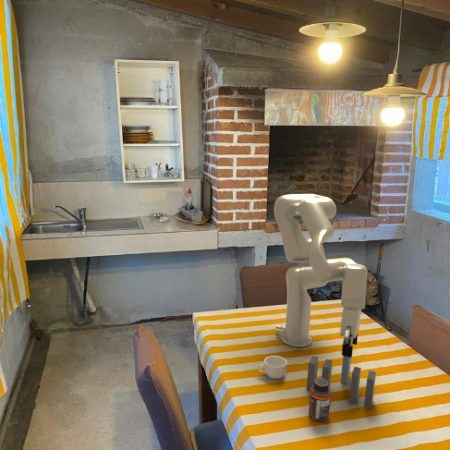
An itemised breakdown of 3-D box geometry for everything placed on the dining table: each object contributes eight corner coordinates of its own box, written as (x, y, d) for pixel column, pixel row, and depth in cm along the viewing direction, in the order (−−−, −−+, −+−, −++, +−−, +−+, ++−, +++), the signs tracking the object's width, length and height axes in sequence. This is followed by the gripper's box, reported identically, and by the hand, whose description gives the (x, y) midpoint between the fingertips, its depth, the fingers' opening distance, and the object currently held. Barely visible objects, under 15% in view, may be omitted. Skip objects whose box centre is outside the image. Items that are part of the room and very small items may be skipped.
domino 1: (306, 390, 132) (308, 362, 130) (310, 382, 137) (312, 355, 135) (312, 392, 131) (314, 364, 129) (316, 384, 136) (318, 357, 134)
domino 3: (340, 382, 137) (343, 355, 135) (343, 375, 142) (346, 348, 139) (346, 384, 136) (349, 357, 134) (349, 376, 141) (352, 350, 139)
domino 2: (320, 394, 130) (322, 366, 128) (323, 386, 135) (326, 359, 133) (326, 396, 129) (328, 368, 127) (329, 388, 134) (332, 360, 132)
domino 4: (348, 403, 126) (351, 374, 124) (351, 394, 131) (354, 366, 129) (355, 404, 126) (358, 375, 123) (358, 396, 130) (361, 368, 128)
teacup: (282, 368, 145) (283, 355, 143) (288, 381, 137) (289, 367, 136) (255, 370, 143) (256, 356, 142) (259, 382, 136) (260, 368, 135)
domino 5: (363, 407, 124) (367, 378, 122) (366, 398, 129) (369, 370, 127) (370, 409, 124) (374, 380, 122) (372, 400, 128) (376, 371, 126)
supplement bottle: (305, 409, 123) (308, 376, 120) (325, 409, 123) (327, 375, 121) (311, 423, 117) (314, 388, 115) (331, 422, 117) (334, 387, 115)
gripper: (346, 291, 142) (343, 337, 145) (335, 308, 127) (332, 358, 130) (368, 295, 139) (364, 341, 142) (360, 312, 124) (356, 364, 127)
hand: (349, 349), depth 136 cm, fingers open, 9 cm apart
